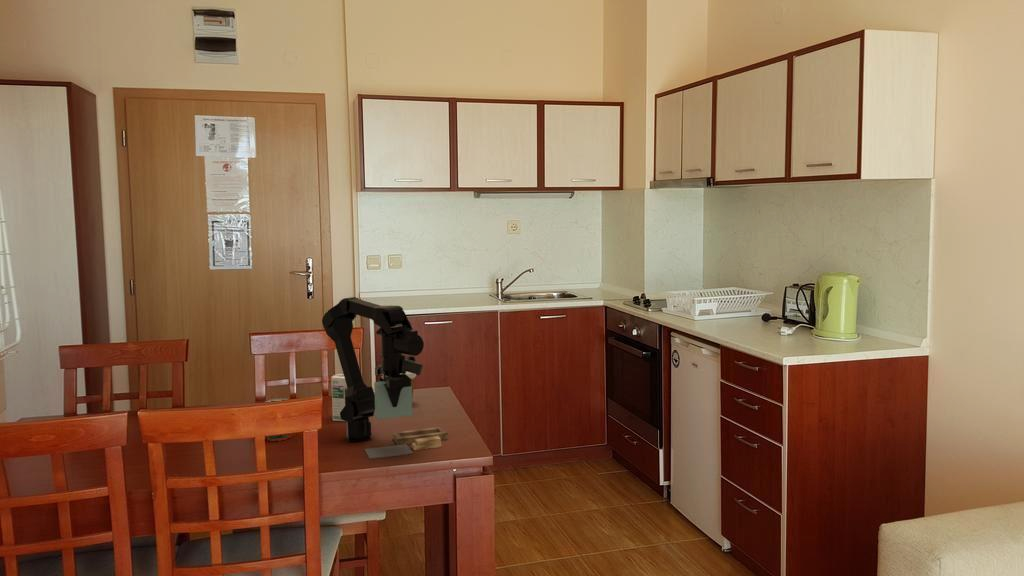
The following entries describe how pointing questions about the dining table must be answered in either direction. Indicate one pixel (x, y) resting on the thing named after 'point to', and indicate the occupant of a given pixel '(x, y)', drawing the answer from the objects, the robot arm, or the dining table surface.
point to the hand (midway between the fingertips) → (393, 405)
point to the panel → (384, 404)
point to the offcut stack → (427, 443)
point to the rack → (418, 435)
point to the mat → (388, 451)
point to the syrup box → (338, 395)
